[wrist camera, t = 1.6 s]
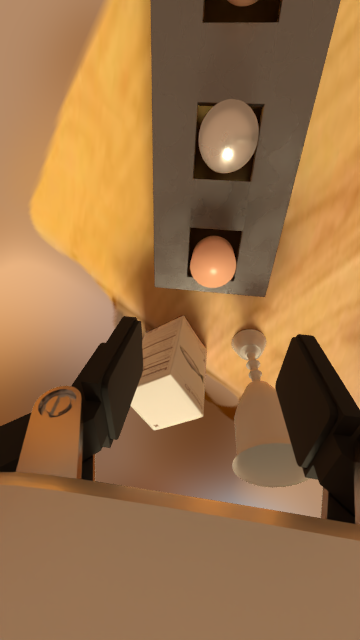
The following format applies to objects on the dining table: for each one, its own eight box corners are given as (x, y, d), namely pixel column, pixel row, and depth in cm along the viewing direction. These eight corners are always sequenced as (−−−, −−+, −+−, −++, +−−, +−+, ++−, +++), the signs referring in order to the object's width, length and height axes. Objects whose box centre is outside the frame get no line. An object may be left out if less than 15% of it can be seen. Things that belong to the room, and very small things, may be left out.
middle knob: (257, 110, 17) (264, 99, 15) (247, 174, 20) (252, 174, 17) (203, 109, 18) (201, 98, 15) (198, 172, 20) (196, 171, 17)
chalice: (254, 314, 33) (288, 431, 18) (283, 343, 35) (336, 472, 20) (215, 342, 37) (215, 461, 21) (243, 368, 38) (263, 494, 23)
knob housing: (333, -69, 17) (384, -175, 12) (256, 276, 30) (265, 297, 25) (167, -64, 18) (148, -159, 13) (164, 269, 31) (154, 287, 26)
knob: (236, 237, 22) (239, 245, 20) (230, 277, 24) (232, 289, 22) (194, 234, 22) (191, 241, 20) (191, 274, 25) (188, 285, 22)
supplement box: (208, 349, 37) (205, 418, 27) (169, 364, 40) (152, 432, 29) (184, 312, 35) (171, 374, 24) (144, 331, 37) (115, 394, 27)
